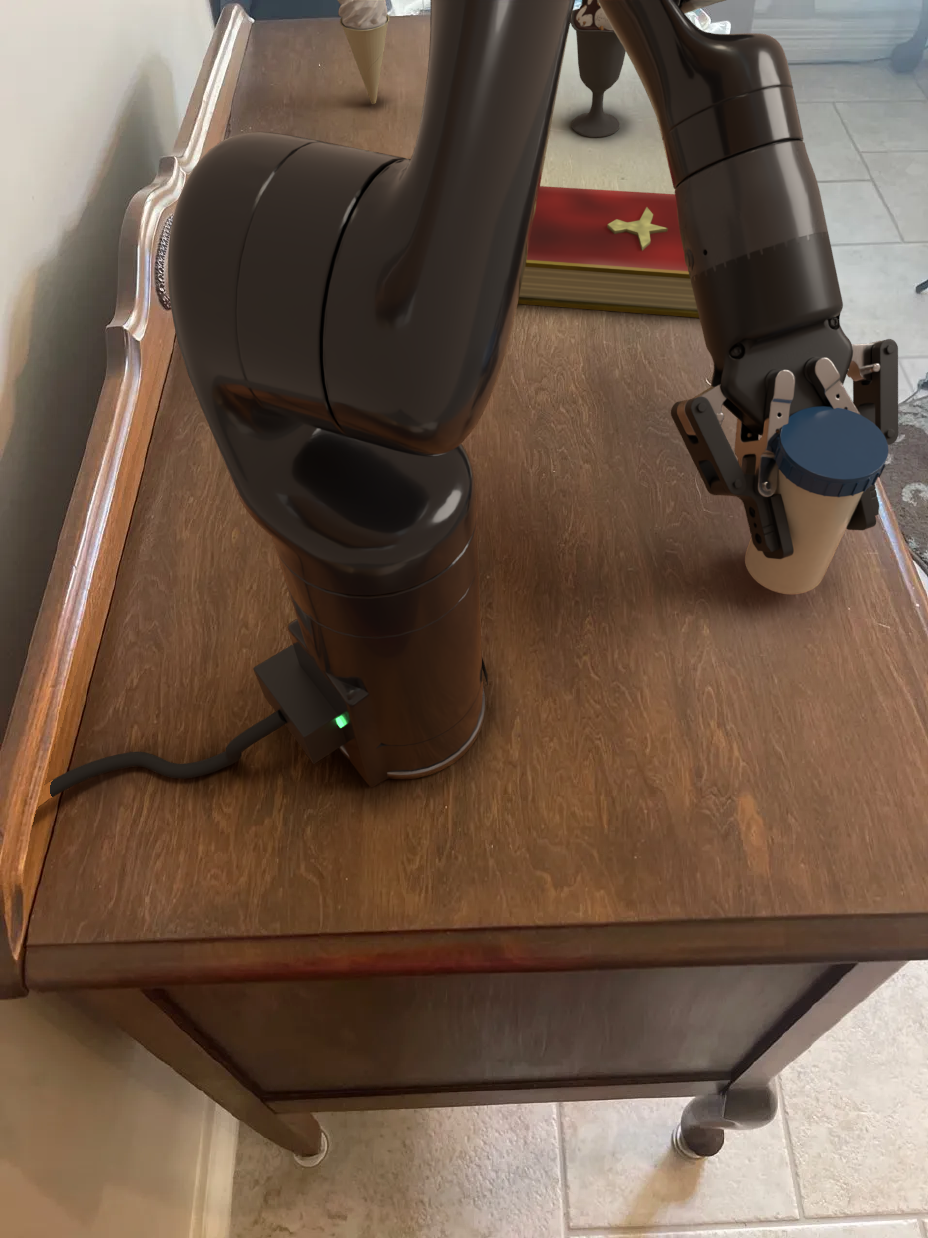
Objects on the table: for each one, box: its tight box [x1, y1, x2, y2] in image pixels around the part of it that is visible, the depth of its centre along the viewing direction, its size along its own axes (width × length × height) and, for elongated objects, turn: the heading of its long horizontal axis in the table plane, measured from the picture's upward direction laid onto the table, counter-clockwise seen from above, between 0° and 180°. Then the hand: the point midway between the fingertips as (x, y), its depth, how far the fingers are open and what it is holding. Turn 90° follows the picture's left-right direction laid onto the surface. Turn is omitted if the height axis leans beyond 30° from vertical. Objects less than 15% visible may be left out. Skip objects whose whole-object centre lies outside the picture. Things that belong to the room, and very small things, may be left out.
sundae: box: [570, 0, 627, 138], centre depth 89 cm, size 7×7×15 cm
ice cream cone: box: [337, 0, 390, 105], centre depth 93 cm, size 5×5×15 cm
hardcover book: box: [517, 185, 700, 319], centre depth 79 cm, size 12×21×4 cm, turn 80°
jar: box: [744, 470, 863, 595], centre depth 55 cm, size 5×5×10 cm
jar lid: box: [774, 406, 889, 497], centre depth 51 cm, size 6×6×1 cm
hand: (820, 540), depth 54 cm, fingers closed on jar, 5 cm apart
